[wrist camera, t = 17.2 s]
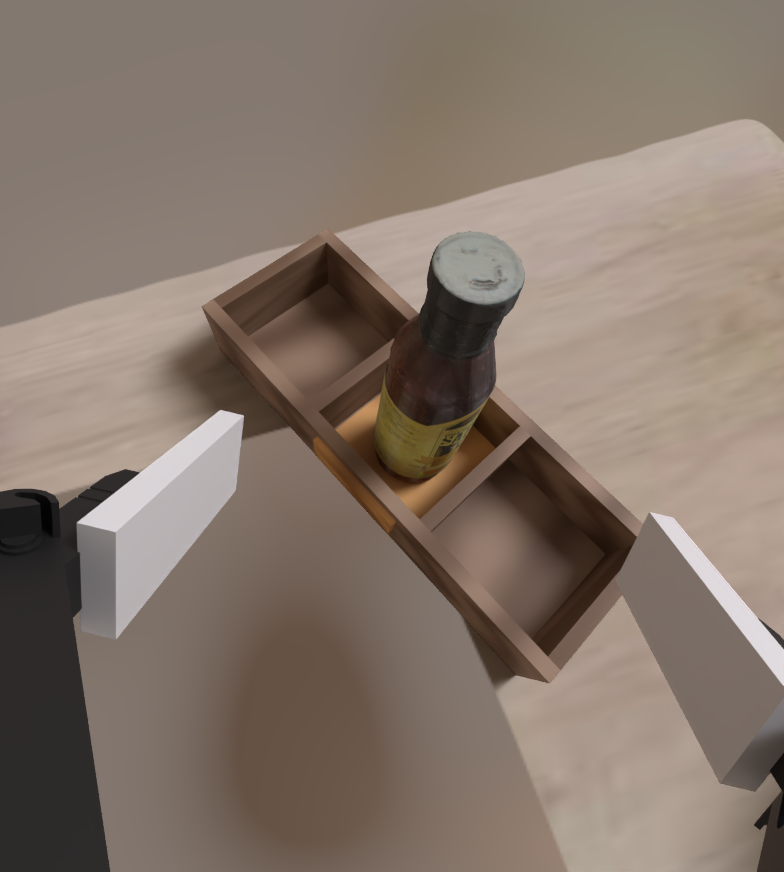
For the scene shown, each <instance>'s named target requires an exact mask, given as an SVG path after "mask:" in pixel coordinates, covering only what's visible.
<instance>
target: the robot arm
mask: <svg viewBox="0 0 784 872" xmlns="http://www.w3.org/2000/svg"><path fill="white" fill-rule="evenodd" d="M243 421H244V415H240V414H235V413H231V412H227V411H223V410H220V411H218V412H217V413H216V414H215V415H213V416H212V417H211V418H209V419H208V420H207V421H206V422H204V423H203V424H202V425H201V426H199V427H198V428H197V429H195V430H194V431H193V432H192V433H190V434H189V435H188V436H187V437H185V438H184V439H183V440H181V441H180V442H179V443H178V444H176V445H175V446H174V447H172V448H171V449H170V450H169V451H167V452H166V453H165V454H164V455H162V456H161V457H160V458H158V459H157V460H156V461H155V462H153V463H152V464H151V465H150V466H148V467H147V468H146V469H144V470H143V471H142V472H141V473H139V472H135V471H131V470H126V469H125V470H122V471H119V472H116V473H113V474H110V475H108V476H105V477H104V478H102V479H101V480H99V481H98V482H97V483H95V484H94V485H92V486H91V487H90V489H87V490H85V491H84V492H82V493H81V494H80V495H79V496H78V498H74V499H73V500H71V501H70V502H68V503H67V504H66V505H65V506H63V507H61V508H60V509H59V502H58V500H57V499H56V497H55V496H54V495H52V494H50V493H48V492H46V491H42V490H36V489H13V490H7V491H2V492H0V872H110V868H109V861H108V855H107V847H106V840H105V834H104V827H103V820H102V813H101V807H100V800H99V793H98V786H97V780H96V773H95V766H94V759H93V752H92V746H91V739H90V733H89V725H88V718H87V712H86V705H85V698H84V692H83V685H82V678H81V671H80V664H79V657H78V651H77V644H76V637H75V631H74V624H73V617H74V616H75V615H76V614H77V613H78V612H79V611H80V625H81V626H80V627H81V631H82V632H86V633H90V634H94V635H98V636H103V637H107V638H111V639H115V640H116V639H117V638H118V636H119V635H120V634H121V633H122V631H123V630H124V629H125V628H126V627H127V625H128V624H129V623H130V622H131V620H132V619H133V618H134V617H135V615H136V614H137V613H138V612H139V610H140V609H141V608H142V607H143V605H144V604H145V603H146V602H147V600H148V599H149V598H150V597H151V595H152V594H153V593H154V592H155V590H156V589H157V588H158V586H159V585H160V584H161V583H162V582H163V581H164V579H165V578H166V577H167V576H168V574H169V573H170V572H171V571H172V569H173V568H174V567H175V566H176V564H177V563H178V562H179V561H180V559H181V558H182V557H183V556H184V554H185V553H186V552H187V551H188V549H189V548H190V547H191V546H192V545H193V543H194V542H195V541H196V540H197V538H198V537H199V536H200V535H201V533H202V532H203V531H204V530H205V528H206V527H207V526H208V524H209V523H210V522H211V521H212V520H213V518H214V517H215V516H216V515H217V513H218V512H219V511H220V510H221V508H222V507H223V506H224V505H225V504H226V502H227V501H228V500H229V498H230V497H231V496H232V495H233V494H234V492H235V491H236V484H237V476H238V467H239V457H240V448H241V439H242V430H243ZM616 583H617V585H618V587H619V589H620V591H621V593H622V595H623V596H624V598H625V600H626V602H627V604H628V606H629V608H630V610H631V612H632V614H633V616H634V618H635V620H636V622H637V624H638V625H639V627H640V629H641V631H642V633H643V635H644V637H645V639H646V641H647V643H648V645H649V647H650V649H651V651H652V653H653V655H654V656H655V658H656V660H657V662H658V664H659V666H660V668H661V670H662V672H663V674H664V676H665V678H666V680H667V682H668V684H669V686H670V687H671V689H672V691H673V693H674V695H675V697H676V699H677V701H678V703H679V705H680V707H681V709H682V711H683V713H684V715H685V716H686V718H687V720H688V722H689V724H690V726H691V728H692V730H693V732H694V734H695V736H696V738H697V740H698V742H699V744H700V746H701V747H702V749H703V751H704V753H705V755H706V757H707V759H708V761H709V763H710V765H711V767H712V769H713V771H714V773H715V775H716V777H717V778H718V780H719V782H720V783H721V784H725V785H729V786H734V787H738V788H742V789H746V790H750V791H756V790H757V789H758V787H759V786H760V785H761V784H762V782H763V781H764V780H765V779H766V777H767V776H768V775H769V774H770V772H771V774H772V775H773V777H774V778H775V780H776V782H777V783H778V785H779V786H780V788H781V790H782V791H781V793H780V794H779V795H778V796H777V797H776V799H775V800H774V801H773V802H772V803H771V805H770V806H769V807H768V808H767V809H766V811H765V812H764V813H763V814H762V815H761V817H760V818H759V819H758V820H757V822H756V823H755V824H754V826H756V827H757V828H758V829H759V830H760V829H761V828H762V827H763V826H764V825H767V829H766V833H765V838H764V842H763V847H762V851H761V856H760V860H759V865H758V869H757V872H784V640H783V639H782V638H781V636H780V635H779V634H777V633H776V632H775V631H774V630H772V629H771V628H770V627H769V626H767V625H766V624H765V623H764V622H763V621H761V620H760V619H759V618H757V617H756V616H755V615H754V613H753V612H752V611H751V610H750V609H749V607H748V606H747V605H746V604H745V603H744V602H743V600H742V599H741V598H740V597H739V596H738V594H737V593H736V592H735V591H734V590H733V588H732V587H731V586H730V585H729V584H728V582H727V581H726V580H725V579H724V578H723V577H722V575H721V574H720V573H719V572H718V571H717V569H716V568H715V567H714V566H713V565H712V563H711V562H710V561H709V560H708V559H707V557H706V556H705V555H704V554H703V553H702V552H701V550H700V549H699V548H698V547H697V546H696V544H695V543H694V542H693V541H692V540H691V538H690V537H689V536H688V535H687V534H686V532H685V531H684V530H683V529H682V528H681V527H680V525H679V524H678V523H677V522H676V521H675V519H674V518H672V517H668V516H664V515H660V514H656V513H651V512H649V514H648V516H647V518H646V520H645V522H644V524H643V526H642V528H641V530H640V532H639V534H638V536H637V538H636V540H635V542H634V544H633V546H632V548H631V550H630V552H629V554H628V556H627V558H626V560H625V562H624V564H623V567H622V569H621V571H620V573H619V575H618V577H617V579H616Z"/></svg>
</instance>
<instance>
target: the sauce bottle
mask: <svg viewBox="0 0 784 872" xmlns="http://www.w3.org/2000/svg"><path fill="white" fill-rule="evenodd" d="M524 275H525V273H524V269H523V266H522V262H521V259H520V258H519V257H518V256H517V254H516V253H515V252H514V250H513V249H512V248H511V247H510V246H509V245H508V244H507V243H506V242H504V241H502V240H501V239H499V238H497V237H495V236H492V235H489V234H486V233H481V232H470V231H469V232H464V233H456V234H455V235H451V236H449V237H448V238H446V239H444V240H443V241H442V242H440V244H439V245H438V246H437V247H436V249H435V251H434V253H433V256H432V259H431V261H430V266H429V271H428V276H427V288H428V291H427V295H426V300H425V303H424V305H423V306H422V308H421V311H420V313H419V314H417V315H416V316H414V317H413V318H411V319H410V320H409V321H408V322H406V323H405V324H404V325H403V327H402V328H401V329H400V330H399V331H398V333H397V335H396V336H395V338H394V342H393V344H392V346H391V349H390V356H389V363H388V364H387V366H386V369H385V374H384V380H383V385H382V391H381V397H380V402H379V407H378V413H377V419H376V425H375V432H374V444H375V451H376V456H377V459H378V461H379V463H380V465H381V466H382V467H383V468H384V470H385V471H387V472H388V473H389V474H390V475H392V477H395V478H397V479H398V480H401V481H404V482H411V483H417V482H423V481H428V480H430V479H431V478H433V477H434V476H436V475H437V474H438V473H439V472H441V471H442V470H443V469H445V468H446V467H447V466H448V464H449V463H450V462H451V460H452V458H453V457H454V455H455V453H456V452H457V450H458V448H459V447H460V445H461V444H462V442H463V440H464V438H465V437H466V436H467V434H468V432H469V430H470V429H471V427H472V425H473V423H474V422H475V421H476V419H477V417H478V415H479V413H480V412H481V410H482V408H483V407H484V405H485V404H486V402H487V400H488V398H489V396H490V395H491V393H492V391H493V389H494V386H495V382H496V362H495V346H494V339H495V337H496V335H497V329H498V327H499V326H500V324H501V322H502V320H503V318H504V316H506V315H507V314H508V313H509V312H510V311H511V310H512V308H513V307H514V305H515V303H516V301H517V299H518V297H519V294H520V291H521V289H522V287H523V284H524Z"/></svg>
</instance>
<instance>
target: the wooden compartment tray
mask: <svg viewBox="0 0 784 872" xmlns="http://www.w3.org/2000/svg"><path fill="white" fill-rule="evenodd" d="M202 308H203V311H204V313H205V315H206V318H207V320H208V322H209V325H210V327H211V329H212V332H213V334H214V336H215V338H216V341H217V343H218V345H219V348H220V350H221V351H222V352H223V353H224V354H225V356H226V357H227V358H228V359H229V360H230V361H231V362H232V363H233V364H234V365H235V367H236V368H237V369H238V370H239V371H240V372H241V373H242V374H243V375H244V376H245V378H246V379H247V380H248V381H249V382H250V383H251V384H252V385H253V386H254V387H255V389H256V390H257V391H258V392H259V393H260V394H261V395H262V396H263V397H264V398H265V400H266V401H267V402H268V403H269V404H270V405H271V406H272V407H273V408H274V409H275V411H276V412H277V413H278V414H279V415H280V416H281V417H282V418H283V419H284V420H285V422H286V423H287V424H288V425H289V426H290V427H291V428H292V429H293V430H294V431H295V433H296V434H297V435H298V436H299V437H300V438H301V439H302V440H303V441H304V442H305V443H306V445H307V446H308V447H309V448H310V449H311V450H312V451H313V452H314V453H315V455H316V456H317V457H318V458H319V459H320V460H321V462H322V463H323V464H324V465H325V466H326V467H327V468H328V469H329V470H330V471H331V472H332V474H333V475H334V476H335V477H336V478H337V479H338V480H339V481H340V482H341V484H343V486H344V487H345V488H346V489H347V490H348V491H349V492H350V493H351V494H352V496H353V497H354V498H355V499H356V500H357V501H358V502H359V503H360V504H361V505H362V507H363V508H364V509H365V510H366V511H367V512H368V513H369V514H370V515H371V517H372V518H373V519H374V520H375V521H376V522H377V523H378V524H379V525H380V526H381V528H382V529H383V530H384V531H385V532H386V533H387V534H388V535H389V536H390V537H391V538H392V539H393V540H394V541H395V542H396V543H397V545H398V546H399V547H400V548H401V549H402V550H403V551H404V552H405V553H406V554H407V555H408V557H409V558H410V559H411V560H412V561H413V562H414V563H415V564H416V565H417V567H418V568H419V569H420V570H421V571H422V572H423V573H424V574H425V575H426V577H427V578H428V579H429V580H430V581H431V582H432V583H433V584H434V585H435V586H436V587H437V589H438V590H439V591H440V592H441V593H442V594H443V595H444V596H445V597H446V598H447V600H448V601H449V602H450V603H451V604H452V605H453V606H454V607H455V608H456V610H457V611H458V612H459V613H460V614H461V615H462V616H463V617H464V618H465V619H466V621H467V622H468V623H469V624H470V625H471V626H472V627H473V628H474V629H475V630H476V632H477V633H478V634H479V635H480V636H481V637H482V638H483V639H484V640H485V641H486V643H487V644H488V645H489V646H490V647H491V648H492V649H493V650H494V651H495V652H496V654H497V655H498V656H499V657H500V658H501V659H502V660H503V661H504V662H505V663H506V664H507V666H508V667H509V668H510V669H511V670H512V671H513V672H514V673H515V674H516V675H517V676H522V677H526V678H530V679H534V680H538V681H542V682H546V683H551V681H552V680H553V679H554V678H555V677H556V675H557V674H558V673H559V672H560V670H561V669H562V668H563V667H564V665H565V664H566V663H567V662H568V661H569V659H570V658H571V657H572V656H573V654H574V653H575V652H576V651H577V650H578V648H579V647H580V646H581V645H582V643H583V642H584V641H585V640H586V638H587V637H588V636H589V635H590V634H591V632H592V631H593V630H594V629H595V627H596V626H597V625H598V624H599V623H600V621H601V620H602V619H603V618H604V616H605V615H606V614H607V613H608V611H609V610H610V609H611V608H612V607H613V605H614V604H615V603H616V602H617V600H618V599H619V598H620V597H621V596H622V593H621V591H620V589H619V587H618V585H617V583H616V579H617V577H618V575H619V573H620V571H621V569H622V567H623V564H624V562H625V560H626V558H627V556H628V554H629V552H630V550H631V548H632V546H633V544H634V542H635V540H636V538H637V536H638V534H639V532H640V530H641V528H642V526H643V524H642V523H641V522H640V521H639V520H638V519H637V518H636V517H635V516H634V515H633V514H632V513H631V512H630V511H628V510H627V509H626V508H625V507H624V506H623V505H622V504H621V503H620V502H619V501H618V500H617V499H616V498H615V497H614V496H612V495H611V494H610V493H609V492H608V491H607V490H606V489H605V488H604V487H603V486H602V485H601V484H600V483H599V482H598V481H596V480H595V479H594V478H593V477H592V476H591V475H590V474H589V473H588V472H587V471H586V470H585V469H584V468H583V467H582V466H580V465H579V464H578V463H577V462H576V461H575V460H574V459H573V458H572V457H571V456H570V455H569V454H568V453H567V452H566V451H565V450H563V449H562V448H561V447H560V446H559V445H558V444H557V443H556V442H555V441H554V440H553V439H552V438H551V437H550V436H549V435H547V434H546V433H545V432H544V431H543V430H542V429H541V428H540V427H539V426H538V425H537V424H536V423H535V422H534V421H533V420H531V419H530V418H529V417H528V416H527V415H526V414H525V413H524V412H523V411H522V410H521V409H520V408H519V407H518V406H517V405H515V404H514V403H513V402H512V401H511V400H510V399H509V398H508V397H507V396H506V395H505V394H504V393H503V392H502V391H501V390H500V389H498V388H497V387H496V386H494V389H493V391H492V393H491V395H490V396H489V398H488V400H487V402H486V404H485V405H484V407H483V408H482V410H481V412H480V413H479V415H478V417H477V419H476V421H475V422H474V423H473V425H472V427H471V429H470V430H469V432H468V434H467V436H466V437H465V438H464V440H463V442H462V444H461V445H460V447H459V448H458V450H457V452H456V453H455V455H454V457H453V458H452V460H451V462H450V463H449V464H448V466H447V467H446V468H445V469H443V470H442V471H441V472H439V473H438V474H437V475H436V476H434V477H433V478H431V479H430V480H428V481H423V482H417V483H411V482H404V481H401V480H398V479H397V478H395V477H392V475H390V474H389V473H388V472H387V471H385V470H384V468H383V467H382V466H381V465H380V463H379V461H378V459H377V456H376V451H375V444H374V432H375V425H376V419H377V413H378V407H379V402H380V397H381V391H382V385H383V380H384V374H385V369H386V366H387V364H388V363H389V356H390V349H391V346H392V344H393V342H394V338H395V336H396V335H397V333H398V331H399V330H400V329H401V328H402V327H403V325H404V324H405V323H406V322H408V321H409V320H410V319H411V318H413V317H414V316H416V315H417V314H419V313H417V312H416V311H415V310H414V309H413V308H412V307H411V306H410V305H409V304H408V303H407V302H406V301H405V300H404V299H403V298H401V297H400V296H399V295H398V294H397V293H396V292H395V291H394V290H393V289H392V288H391V287H390V286H389V285H388V284H387V283H385V282H384V281H383V280H382V279H381V278H380V277H379V276H378V275H377V274H376V273H375V272H374V271H373V270H372V269H371V268H369V267H368V266H367V265H366V264H365V263H364V262H363V261H362V260H361V259H360V258H359V257H358V256H357V255H356V254H355V253H354V252H352V251H351V250H350V249H349V248H348V247H347V246H346V245H345V244H344V243H343V242H342V241H341V240H340V239H339V238H338V237H336V236H335V235H334V234H333V233H332V232H331V231H330V230H329V229H327V230H325V231H323V232H322V233H320V234H318V235H317V236H315V237H314V238H312V239H310V240H309V241H307V242H305V243H304V244H302V245H301V246H299V247H297V248H296V249H294V250H292V251H291V252H289V253H288V254H286V255H284V256H283V257H281V258H279V259H278V260H276V261H275V262H273V263H271V264H270V265H268V266H266V267H265V268H263V269H262V270H260V271H258V272H257V273H255V274H253V275H252V276H250V277H249V278H247V279H245V280H244V281H242V282H240V283H239V284H237V285H236V286H234V287H232V288H231V289H229V290H227V291H226V292H224V293H223V294H221V295H219V296H218V297H216V298H214V299H213V300H211V301H210V302H208V303H206V304H205V305H203V306H202Z"/></svg>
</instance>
